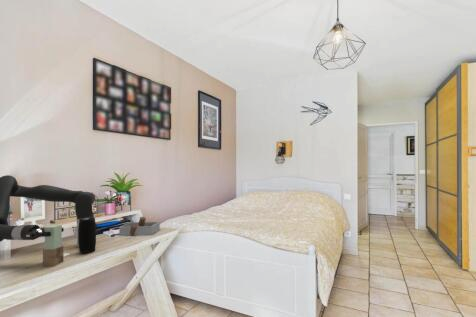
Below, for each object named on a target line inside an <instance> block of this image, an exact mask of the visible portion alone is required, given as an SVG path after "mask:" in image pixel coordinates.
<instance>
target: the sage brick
mask: <svg viewBox="0 0 476 317" xmlns="http://www.w3.org/2000/svg"><path fill="white" fill-rule="evenodd" d="M62 228H63V226H62V224H51V225H48V226H46V227H45V232H51V236H49V237H44V249H45V250H52V249H57V248H59V247H61V246H63V245H62V244H63V243H62V241H63V240H62V239H63V238H62V235H63V234H62V233H63V232H62Z"/></svg>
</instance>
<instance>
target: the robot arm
mask: <svg viewBox="0 0 476 317" xmlns="http://www.w3.org/2000/svg"><path fill="white" fill-rule="evenodd" d="M11 197H12V198H13V197H14V198H28V199H33V200H38V201H39V200H40V201H45V202H52V203H53V202H56V203H67V202H68V203H74V211H75V216H76V247H77V248H79V246H78V245H79V243H78V227H79V221H80V218H85V217H89V216H92V217H94V216H95V214H94V211H93V204H94V203H95V201H96V196H95V195H94V193H92V192H89V191H79V190H78V191H77V190H72V189H67V188H64V187H58V186H54V185H49V184H40V185H35V186H25V185H24V186H23V185H19V183H18V180H17V179H16V177H15V176H13V175H9V174H8V175H7V174H6V175H1V176H0V243H1V242H3V241H4V240H7V241H13V240H14V241H34V240H36V239H39V238H43V237H44V238H45V237H49V236H51V232H45V227H40V226H39V225H38V224H21V225H9V223H8V218H9V215H10V208H11V204H10V203H11V202H10V201H11ZM94 218H95V217H94ZM64 229H65V228H64V227H62V233H63V232H64V231H65V230H64Z"/></svg>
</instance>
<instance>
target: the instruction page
mask: <svg viewBox="0 0 476 317" xmlns="http://www.w3.org/2000/svg"><path fill="white" fill-rule="evenodd" d="M71 254H72V253H71V252H63V258H66V257H67V256H69V255H71ZM40 260H43V257H41V258H40Z"/></svg>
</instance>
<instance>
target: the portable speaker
mask: <svg viewBox="0 0 476 317" xmlns="http://www.w3.org/2000/svg"><path fill="white" fill-rule="evenodd" d="M78 243H79V245H78V246H79V247H78V251H79V253H80V254H82V255H84V254H85V255H86V254H89V253H90V252H95V251H96V245H97V225H96V217H92V216H89V217H85V218H80V221H79V227H78Z"/></svg>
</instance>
